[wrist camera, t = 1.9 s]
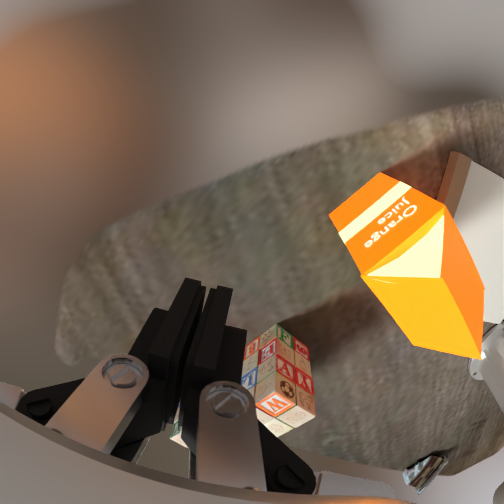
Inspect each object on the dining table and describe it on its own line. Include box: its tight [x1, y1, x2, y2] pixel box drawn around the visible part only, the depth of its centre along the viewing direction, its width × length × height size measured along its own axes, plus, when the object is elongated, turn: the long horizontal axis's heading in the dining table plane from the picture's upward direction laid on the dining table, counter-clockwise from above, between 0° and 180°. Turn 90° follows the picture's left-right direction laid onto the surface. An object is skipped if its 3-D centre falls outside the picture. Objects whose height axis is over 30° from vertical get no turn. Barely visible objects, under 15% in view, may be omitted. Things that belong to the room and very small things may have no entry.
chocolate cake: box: [403, 455, 449, 495], centre depth 52 cm, size 10×7×12 cm
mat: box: [436, 151, 504, 324], centre depth 32 cm, size 22×20×2 cm
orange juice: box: [329, 172, 485, 360], centre depth 24 cm, size 8×9×20 cm
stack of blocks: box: [170, 323, 315, 448], centre depth 38 cm, size 21×6×12 cm, turn 137°
